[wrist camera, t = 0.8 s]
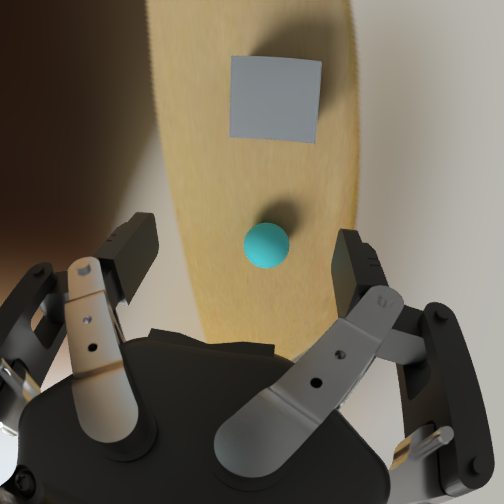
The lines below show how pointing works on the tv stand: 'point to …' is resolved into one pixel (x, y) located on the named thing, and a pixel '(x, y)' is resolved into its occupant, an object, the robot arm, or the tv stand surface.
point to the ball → (266, 245)
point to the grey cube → (274, 98)
